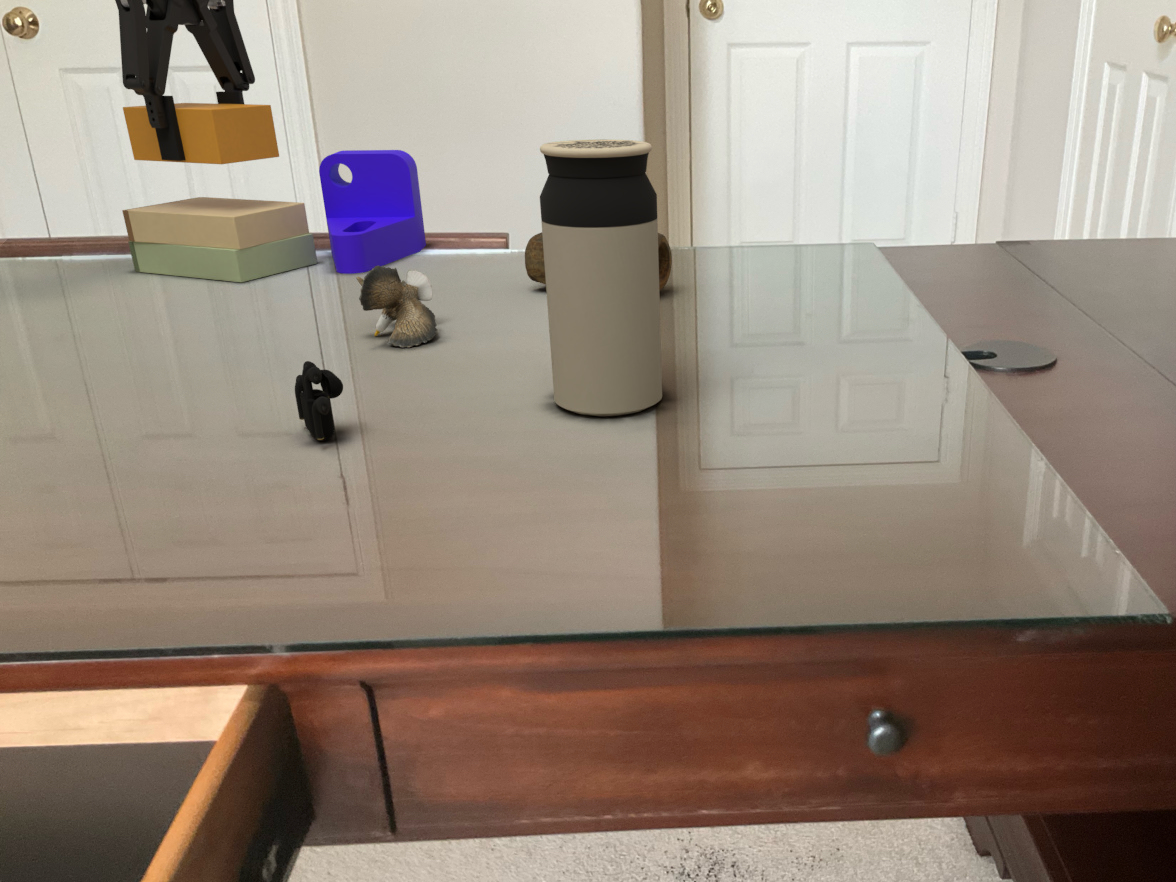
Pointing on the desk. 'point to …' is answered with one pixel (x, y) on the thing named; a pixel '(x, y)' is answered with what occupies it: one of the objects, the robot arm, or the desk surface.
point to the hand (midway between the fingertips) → (207, 155)
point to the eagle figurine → (399, 304)
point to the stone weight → (537, 266)
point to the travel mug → (602, 276)
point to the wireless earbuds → (317, 400)
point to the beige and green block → (220, 238)
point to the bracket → (372, 208)
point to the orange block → (208, 133)
